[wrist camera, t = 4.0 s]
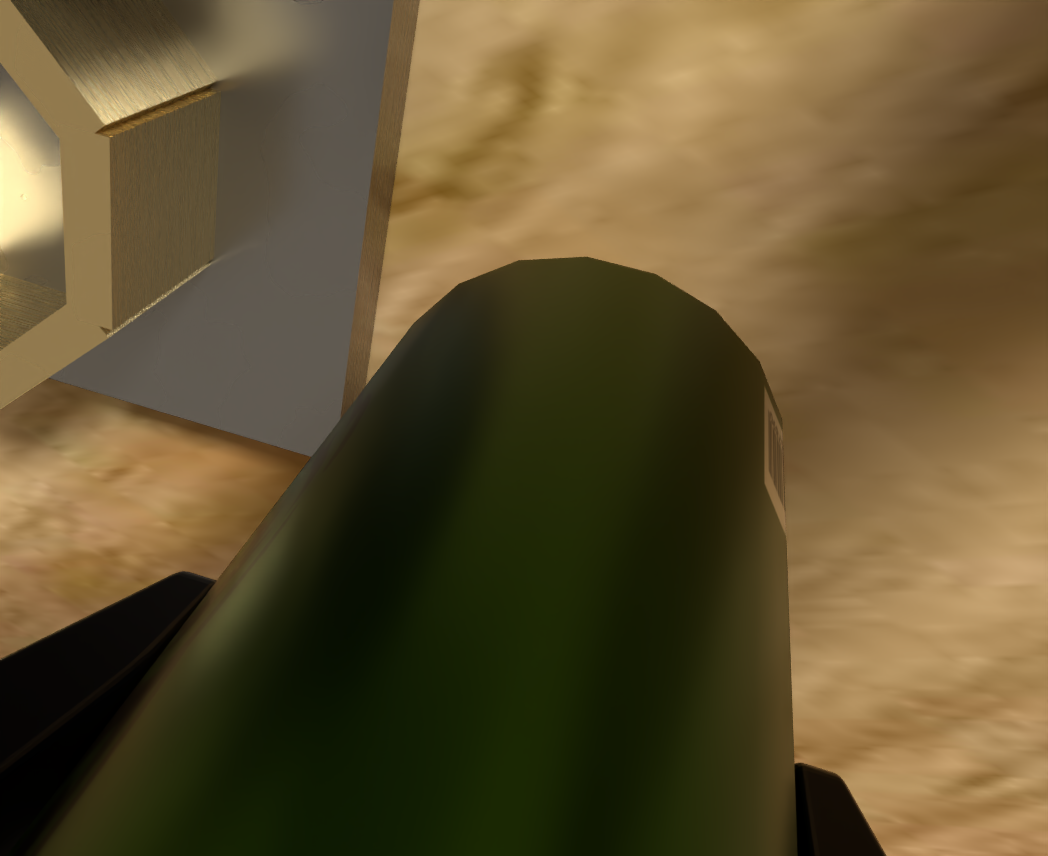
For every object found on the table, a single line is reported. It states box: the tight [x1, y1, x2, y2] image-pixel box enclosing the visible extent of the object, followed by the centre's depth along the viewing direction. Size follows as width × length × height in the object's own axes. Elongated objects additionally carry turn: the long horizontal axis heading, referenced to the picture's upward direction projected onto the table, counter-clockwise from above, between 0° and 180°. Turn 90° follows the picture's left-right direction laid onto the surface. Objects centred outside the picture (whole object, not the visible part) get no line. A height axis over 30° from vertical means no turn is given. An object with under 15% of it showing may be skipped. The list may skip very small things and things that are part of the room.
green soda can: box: [7, 257, 798, 856], centre depth 9 cm, size 5×5×12 cm
